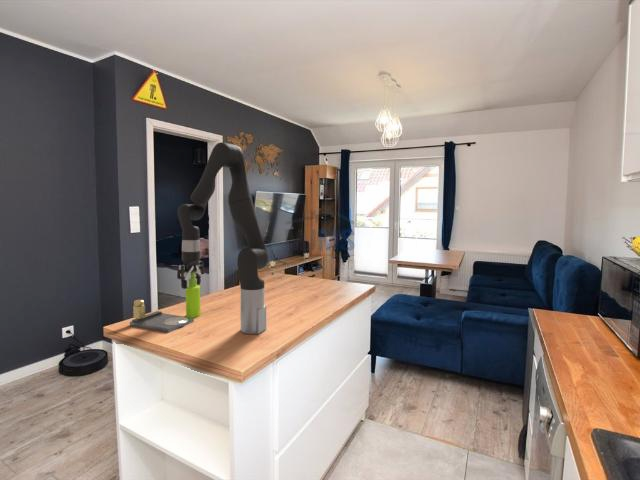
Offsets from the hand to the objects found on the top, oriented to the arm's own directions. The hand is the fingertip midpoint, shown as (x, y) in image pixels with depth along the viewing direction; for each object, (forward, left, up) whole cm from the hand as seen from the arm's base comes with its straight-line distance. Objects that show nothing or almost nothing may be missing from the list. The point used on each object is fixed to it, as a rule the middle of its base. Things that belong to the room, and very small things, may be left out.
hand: (191, 286), depth 152 cm
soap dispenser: (0, 0, -14) cm, 14 cm away
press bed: (+4, +13, -13) cm, 19 cm away
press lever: (+12, +17, -11) cm, 23 cm away
